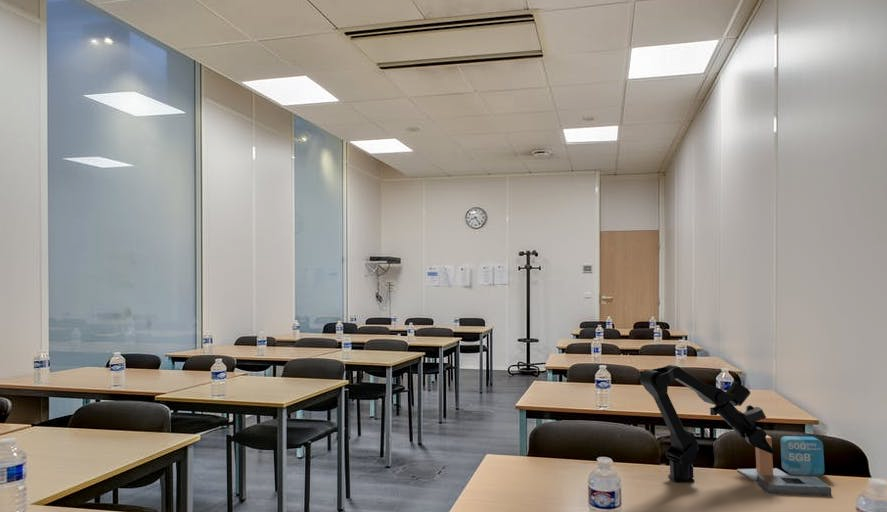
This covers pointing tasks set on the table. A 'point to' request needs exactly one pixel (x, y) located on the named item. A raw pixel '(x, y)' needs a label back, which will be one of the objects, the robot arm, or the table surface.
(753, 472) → the pad
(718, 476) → the table surface
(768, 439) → the peg
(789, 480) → the grey base plate
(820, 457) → the data package
